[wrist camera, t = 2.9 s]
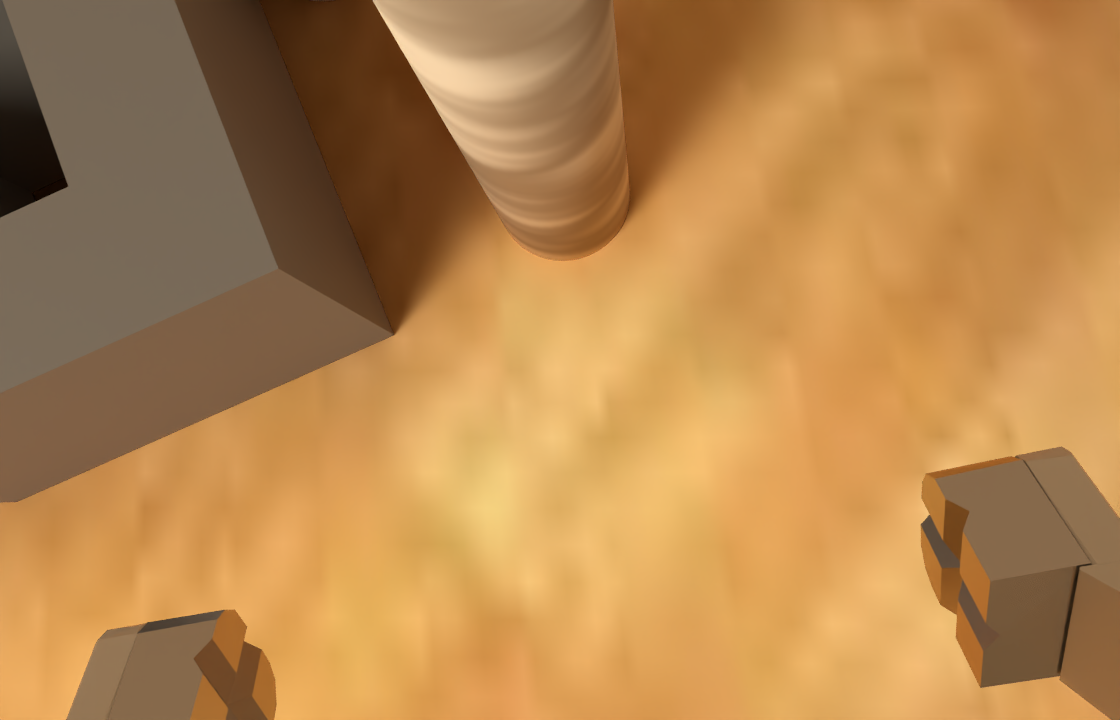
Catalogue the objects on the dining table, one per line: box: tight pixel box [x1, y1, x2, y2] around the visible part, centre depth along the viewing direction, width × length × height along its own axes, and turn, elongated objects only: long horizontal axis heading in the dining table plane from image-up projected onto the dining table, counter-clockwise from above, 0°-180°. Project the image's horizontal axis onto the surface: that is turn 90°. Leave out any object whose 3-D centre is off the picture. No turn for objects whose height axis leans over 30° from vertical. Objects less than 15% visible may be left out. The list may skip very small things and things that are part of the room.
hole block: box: [0, 0, 394, 502], centre depth 29 cm, size 14×14×10 cm
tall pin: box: [373, 0, 630, 261], centre depth 23 cm, size 4×4×18 cm
